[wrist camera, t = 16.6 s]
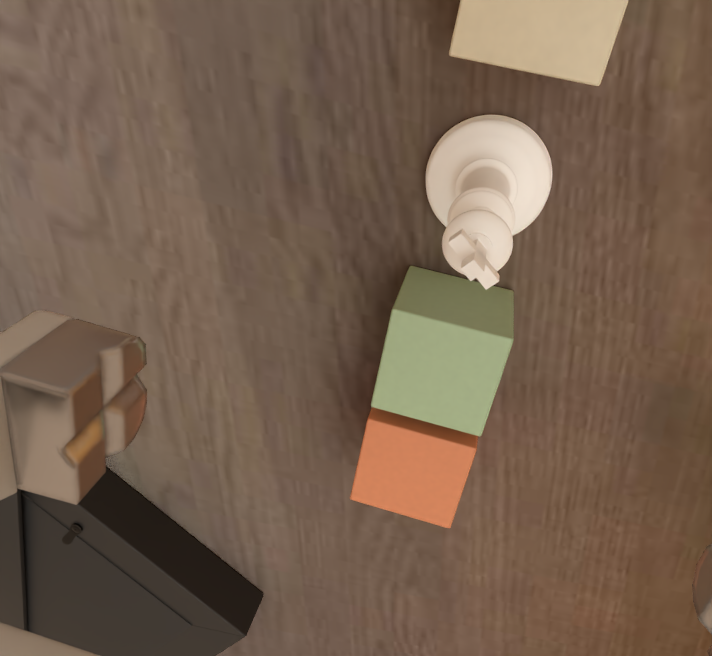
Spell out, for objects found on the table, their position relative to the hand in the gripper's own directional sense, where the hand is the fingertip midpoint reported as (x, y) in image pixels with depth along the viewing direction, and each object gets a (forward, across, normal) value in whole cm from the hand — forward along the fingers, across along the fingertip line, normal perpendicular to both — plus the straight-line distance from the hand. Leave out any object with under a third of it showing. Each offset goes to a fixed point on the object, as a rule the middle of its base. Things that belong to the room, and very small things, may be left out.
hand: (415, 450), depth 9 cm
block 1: (+18, 0, +8) cm, 20 cm away
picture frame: (+18, +24, +35) cm, 46 cm away
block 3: (+19, -1, -6) cm, 20 cm away
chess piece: (+19, 0, +1) cm, 19 cm away
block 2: (+18, 0, +13) cm, 22 cm away
